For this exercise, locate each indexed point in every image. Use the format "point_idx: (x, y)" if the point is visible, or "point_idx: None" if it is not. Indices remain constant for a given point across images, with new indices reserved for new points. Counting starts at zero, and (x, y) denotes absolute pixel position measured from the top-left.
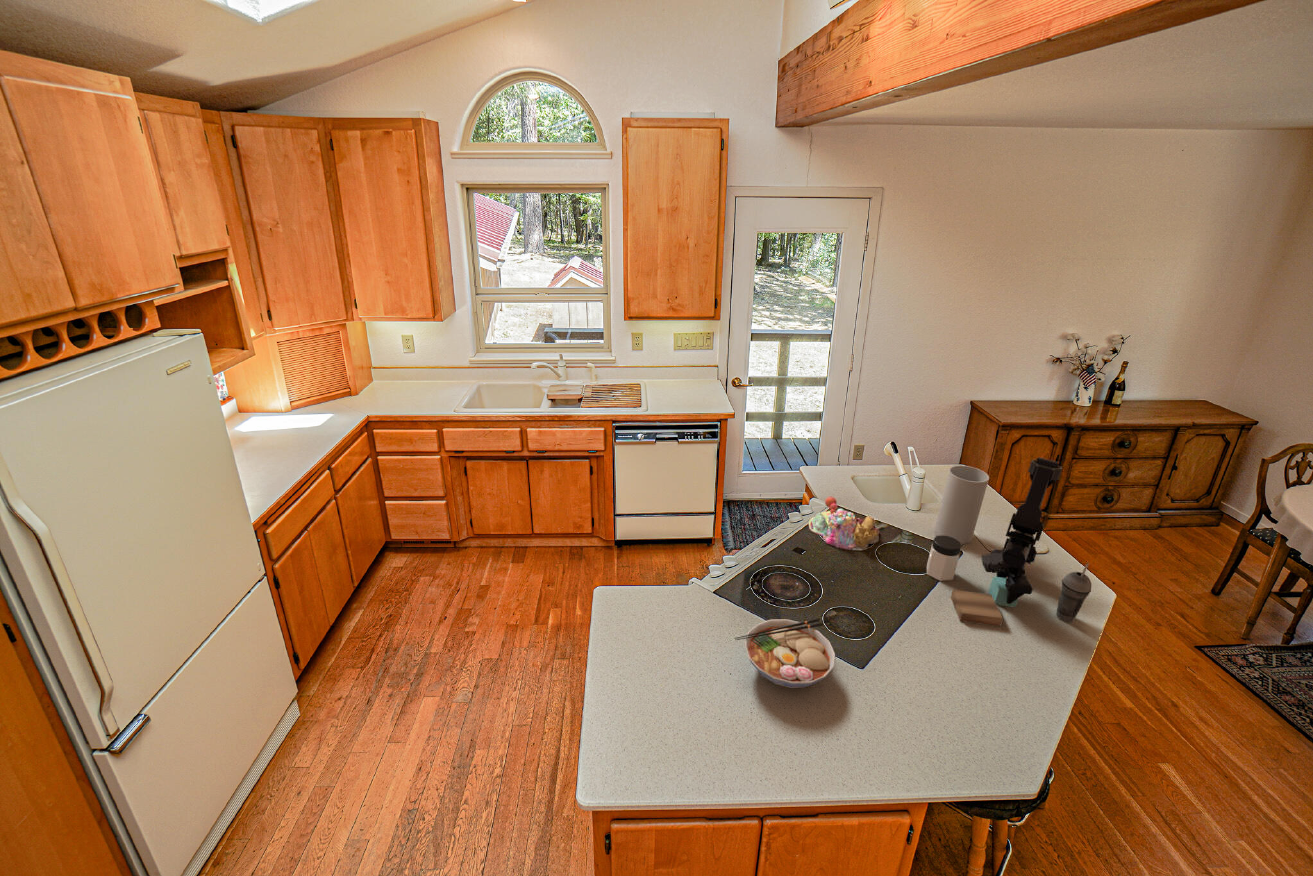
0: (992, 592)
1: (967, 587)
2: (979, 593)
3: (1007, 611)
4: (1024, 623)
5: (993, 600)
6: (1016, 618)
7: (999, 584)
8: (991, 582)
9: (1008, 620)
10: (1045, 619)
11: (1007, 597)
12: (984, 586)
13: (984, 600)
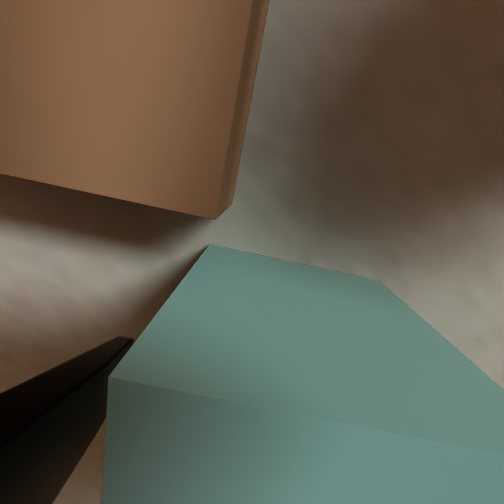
0: (317, 288)
1: (491, 98)
2: (233, 19)
3: (125, 303)
4: (4, 348)
5: (78, 182)
6: (50, 324)
7: (273, 454)
8: (457, 352)
9: (6, 252)
10: (83, 477)
11: (50, 383)
12: (461, 287)
13: (40, 11)
